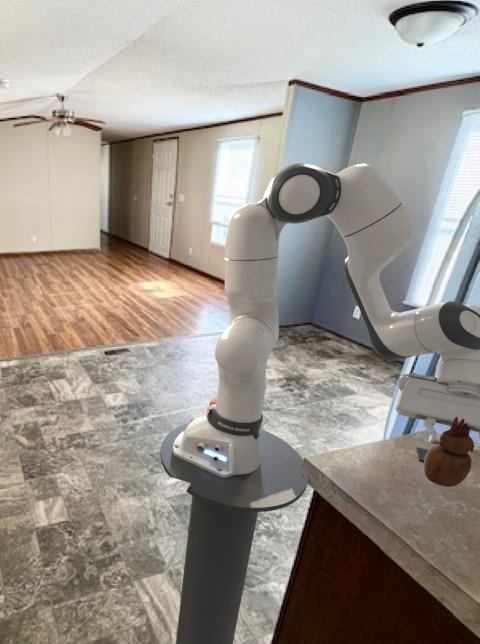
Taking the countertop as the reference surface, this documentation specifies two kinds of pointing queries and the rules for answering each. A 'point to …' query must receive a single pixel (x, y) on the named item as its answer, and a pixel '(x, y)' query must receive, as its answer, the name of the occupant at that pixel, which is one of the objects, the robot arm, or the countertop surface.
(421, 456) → the coaster
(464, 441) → the wooden figurine
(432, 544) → the countertop surface
